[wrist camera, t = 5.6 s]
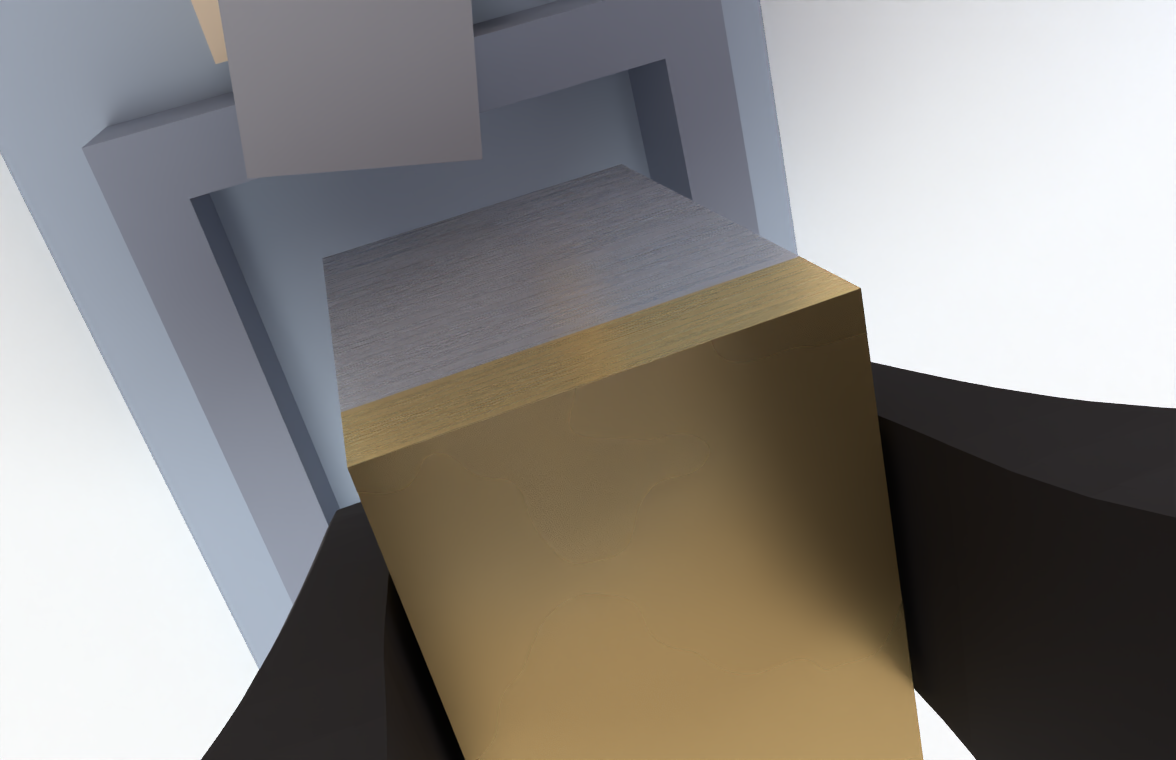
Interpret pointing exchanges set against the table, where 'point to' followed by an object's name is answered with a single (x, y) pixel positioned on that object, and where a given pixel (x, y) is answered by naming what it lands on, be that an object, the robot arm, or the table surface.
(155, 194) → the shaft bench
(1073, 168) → the table surface
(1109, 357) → the table surface
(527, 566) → the tan and white block
